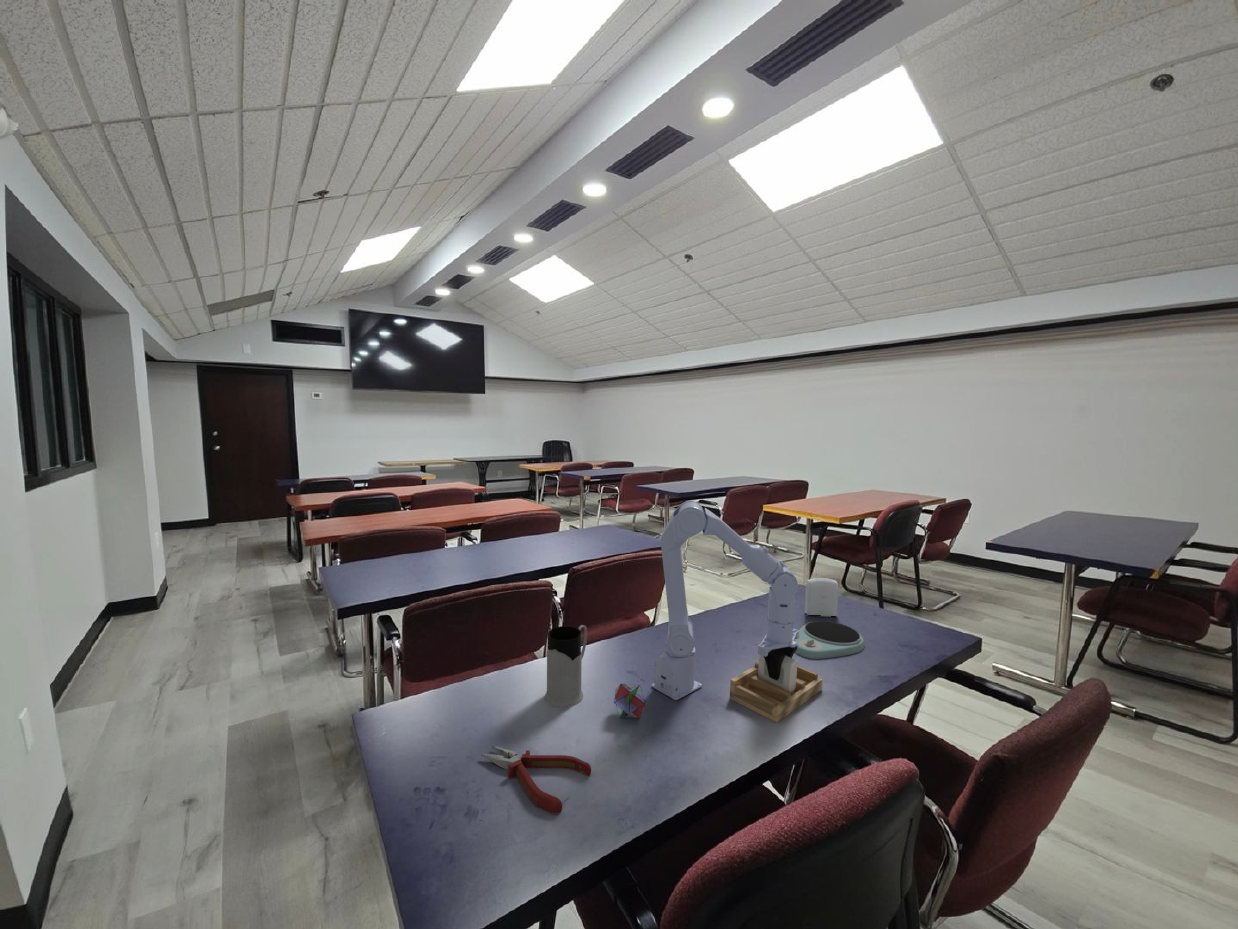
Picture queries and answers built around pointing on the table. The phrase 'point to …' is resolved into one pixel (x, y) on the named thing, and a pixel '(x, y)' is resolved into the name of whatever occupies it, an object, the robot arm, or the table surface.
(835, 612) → the photo printer
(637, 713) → the geometric puzzle
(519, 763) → the pliers
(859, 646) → the electric hot plate
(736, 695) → the wooden compartment tray
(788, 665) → the white rectangular box
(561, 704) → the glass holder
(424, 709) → the table surface
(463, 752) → the table surface
